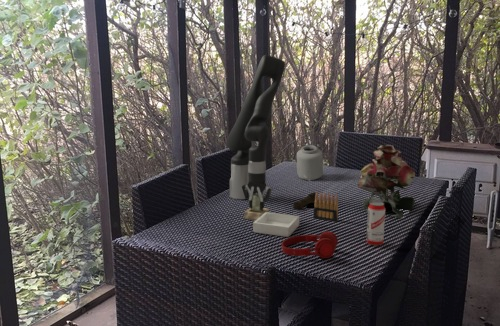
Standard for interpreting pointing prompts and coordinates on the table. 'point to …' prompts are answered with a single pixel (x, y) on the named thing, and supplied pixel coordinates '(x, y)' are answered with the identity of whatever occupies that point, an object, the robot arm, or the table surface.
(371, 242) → the beer can
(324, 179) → the table surface
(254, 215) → the holder
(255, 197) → the dowel
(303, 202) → the hand tool
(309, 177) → the jar
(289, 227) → the tray
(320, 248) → the headphones
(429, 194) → the table surface
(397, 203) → the rose bouquet
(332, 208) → the ammunition clip
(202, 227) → the table surface
